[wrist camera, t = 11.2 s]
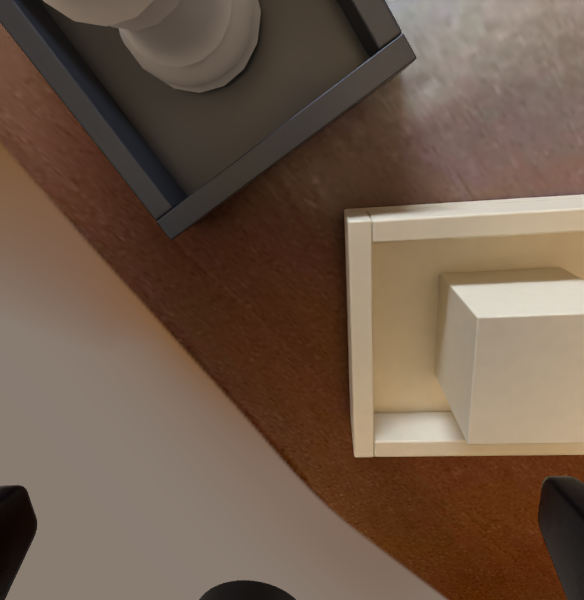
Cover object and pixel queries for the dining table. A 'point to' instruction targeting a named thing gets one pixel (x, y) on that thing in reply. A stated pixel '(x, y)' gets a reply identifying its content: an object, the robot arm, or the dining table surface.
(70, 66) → the charcoal tray
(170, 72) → the rook chess piece
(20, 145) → the dining table surface
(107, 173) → the dining table surface
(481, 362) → the cream block
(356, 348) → the cream tray
